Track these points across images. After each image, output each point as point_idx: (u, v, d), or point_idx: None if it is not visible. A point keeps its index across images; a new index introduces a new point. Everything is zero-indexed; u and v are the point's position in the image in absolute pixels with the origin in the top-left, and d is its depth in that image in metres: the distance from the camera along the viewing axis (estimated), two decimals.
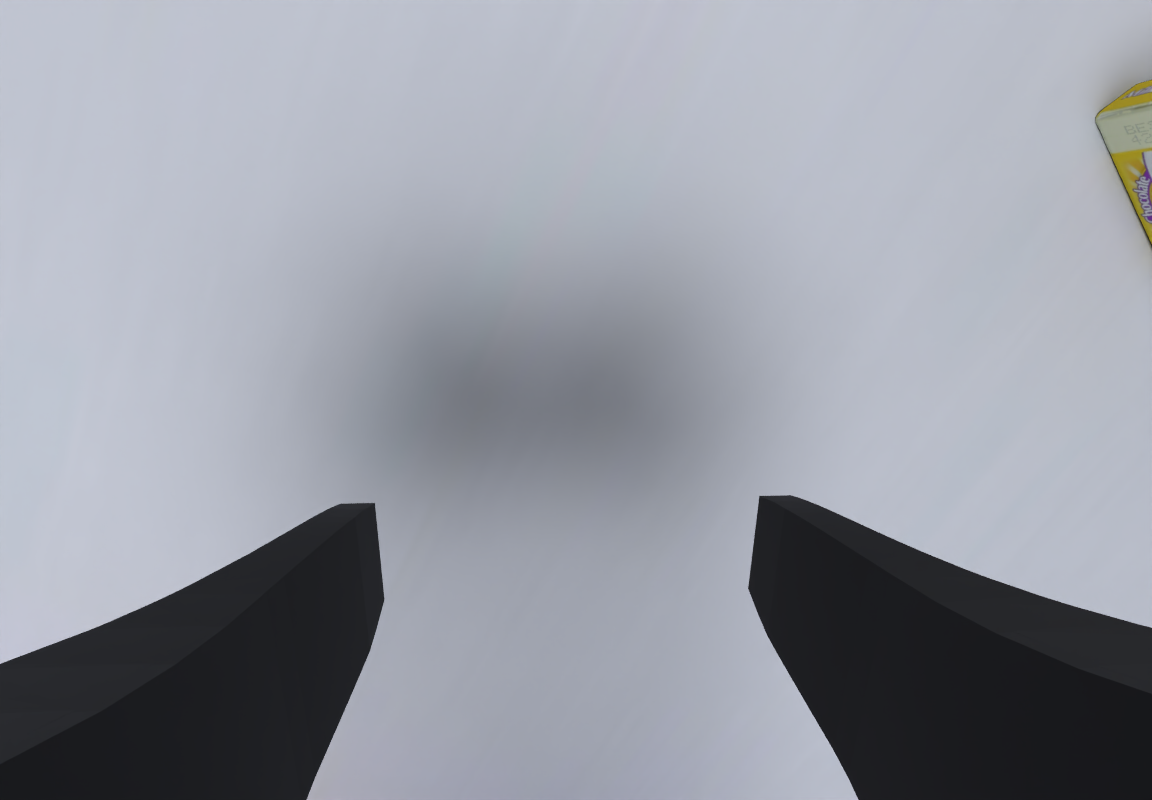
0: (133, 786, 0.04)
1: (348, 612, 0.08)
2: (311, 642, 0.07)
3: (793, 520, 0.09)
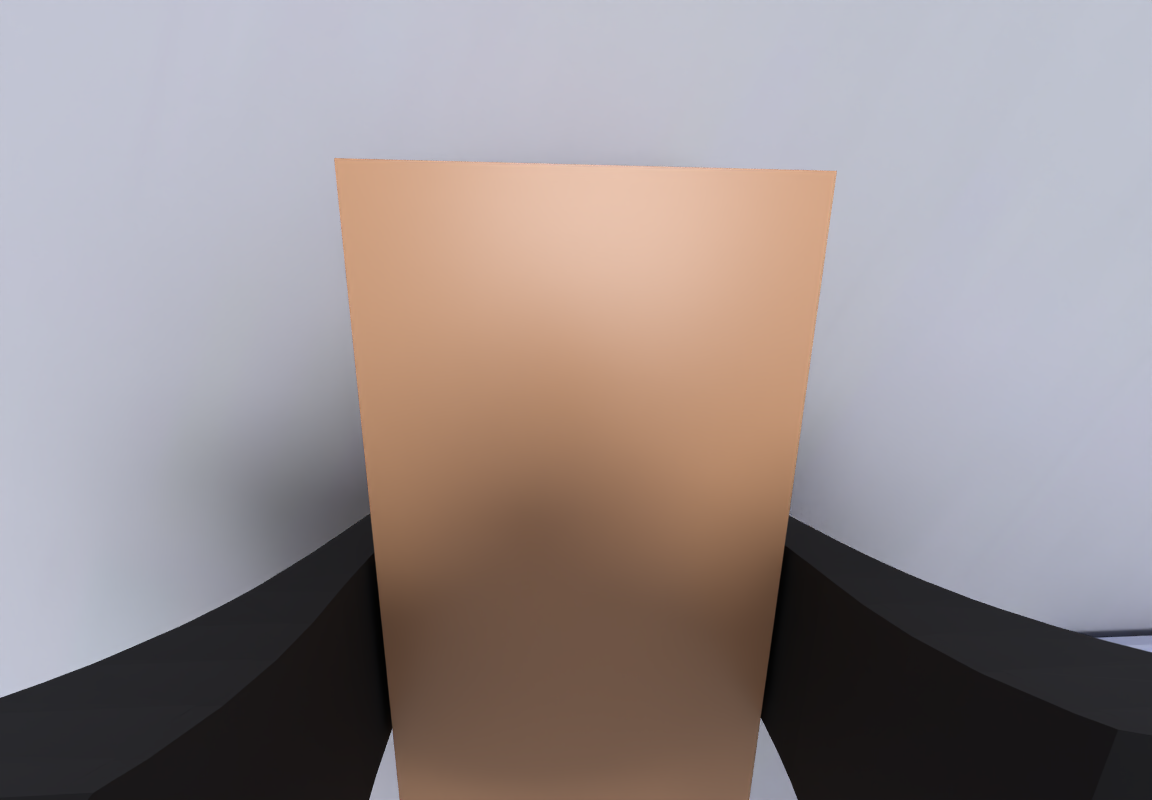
0: (245, 780, 0.04)
1: None
2: (374, 640, 0.07)
3: None
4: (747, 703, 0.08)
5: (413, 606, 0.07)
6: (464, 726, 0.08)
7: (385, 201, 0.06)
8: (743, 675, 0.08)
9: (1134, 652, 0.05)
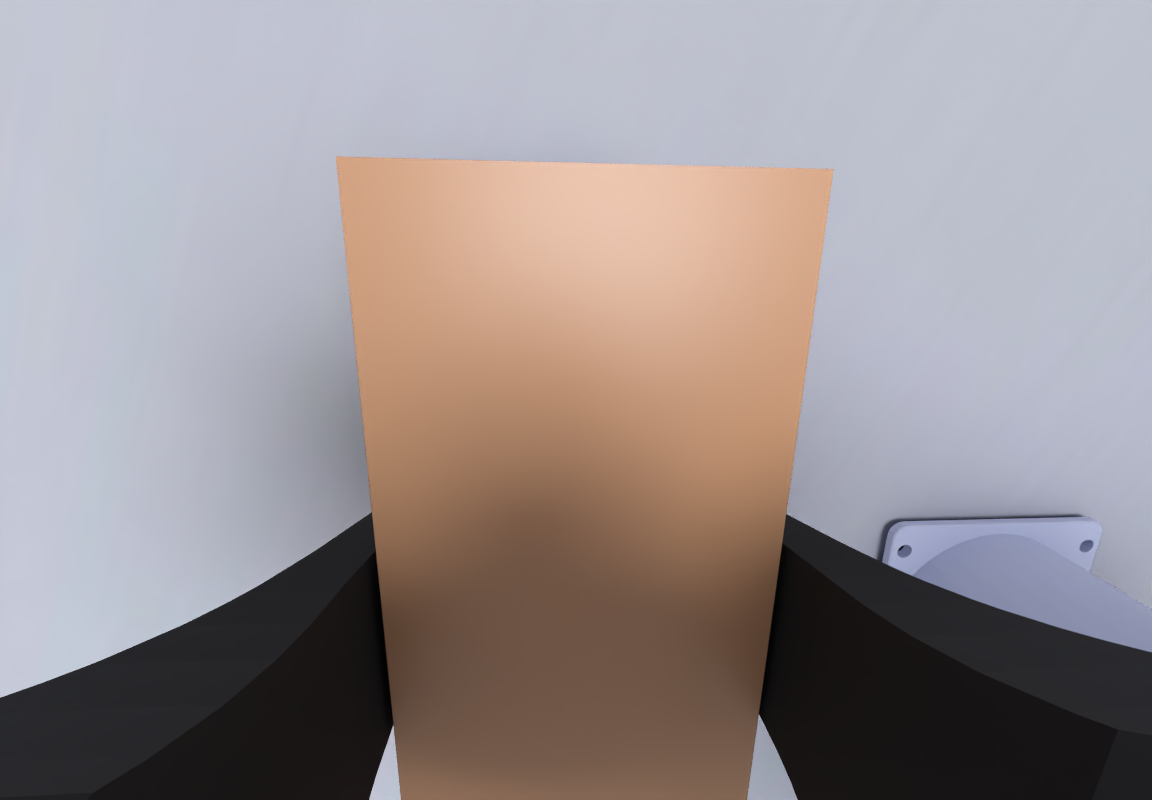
0: (245, 780, 0.04)
1: None
2: (374, 640, 0.07)
3: None
4: (745, 698, 0.08)
5: (414, 601, 0.07)
6: (465, 721, 0.08)
7: (386, 199, 0.06)
8: (741, 670, 0.08)
9: (1134, 652, 0.05)
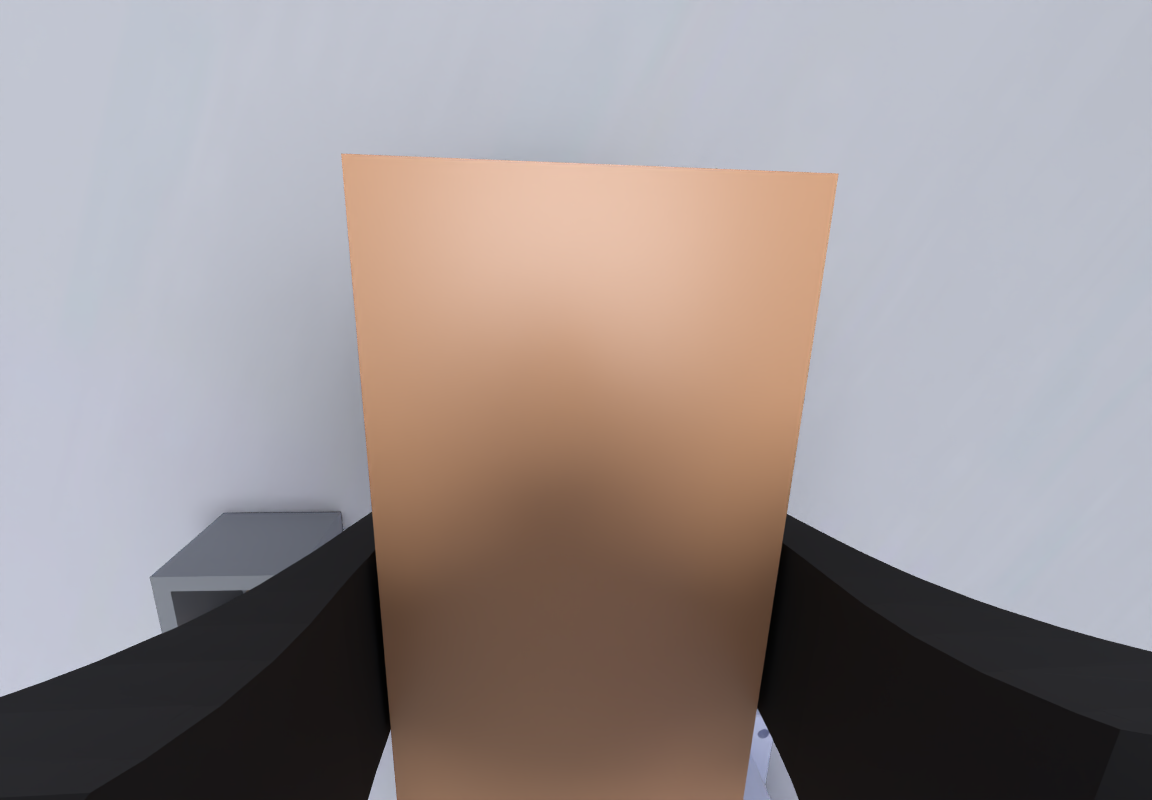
0: (243, 780, 0.04)
1: None
2: (373, 640, 0.07)
3: None
4: (743, 700, 0.08)
5: (413, 601, 0.07)
6: (462, 721, 0.08)
7: (391, 197, 0.06)
8: (739, 672, 0.08)
9: (1136, 652, 0.05)
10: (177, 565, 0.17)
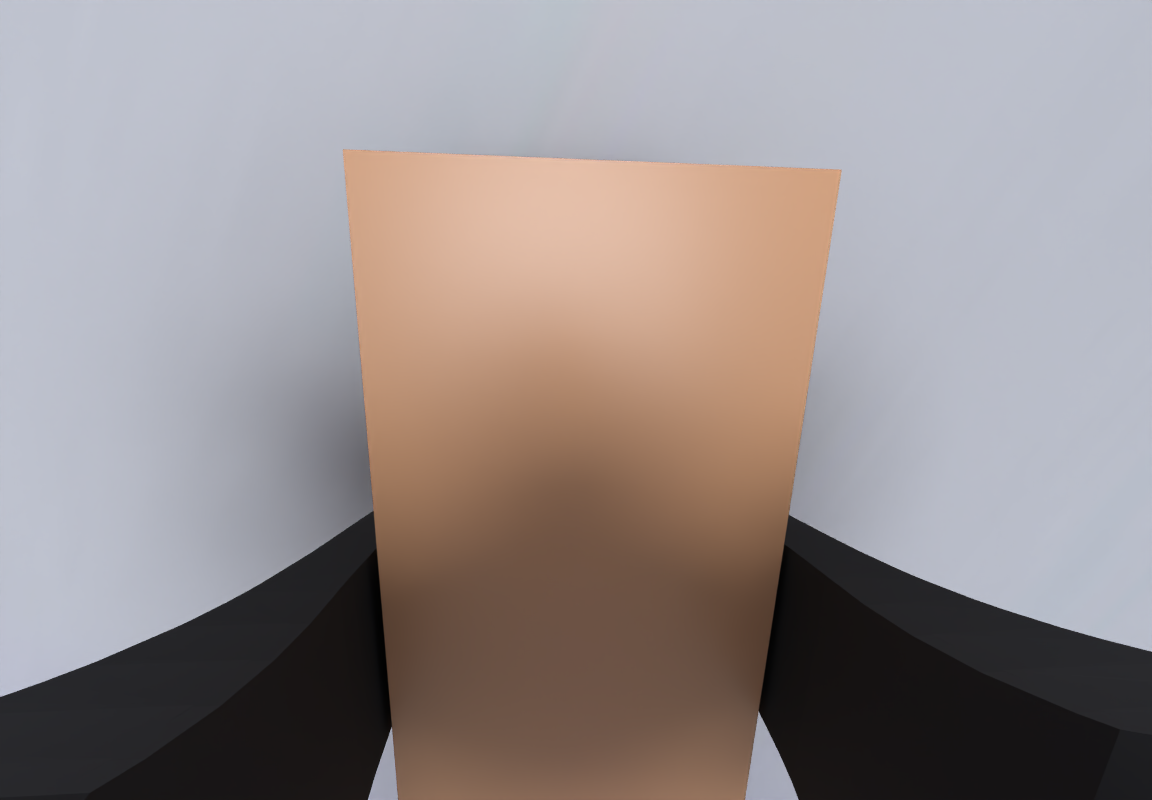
0: (243, 780, 0.04)
1: None
2: (373, 640, 0.07)
3: None
4: (745, 699, 0.08)
5: (414, 598, 0.07)
6: (464, 719, 0.08)
7: (393, 193, 0.06)
8: (741, 671, 0.08)
9: (1136, 652, 0.05)
10: None
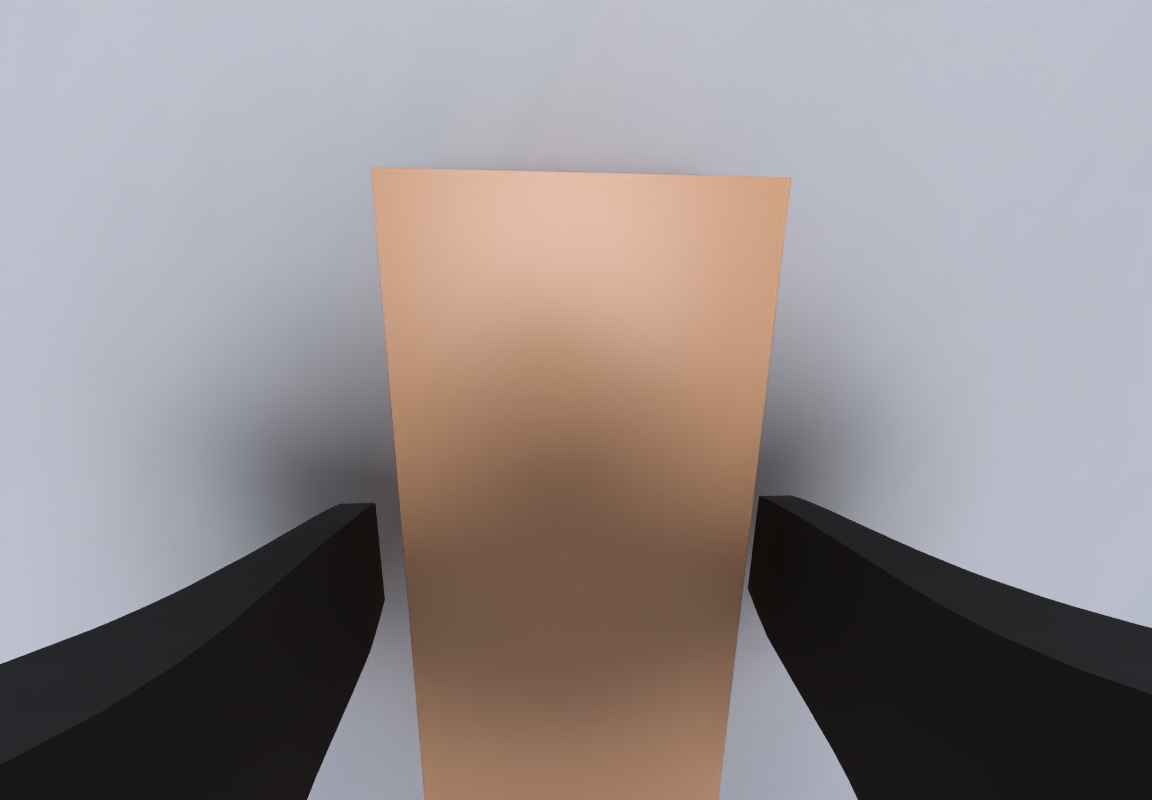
0: (134, 786, 0.04)
1: (348, 612, 0.08)
2: (312, 642, 0.07)
3: (793, 520, 0.09)
4: (723, 642, 0.09)
5: (432, 552, 0.08)
6: (476, 661, 0.09)
7: (412, 203, 0.07)
8: (719, 617, 0.09)
9: None
10: None
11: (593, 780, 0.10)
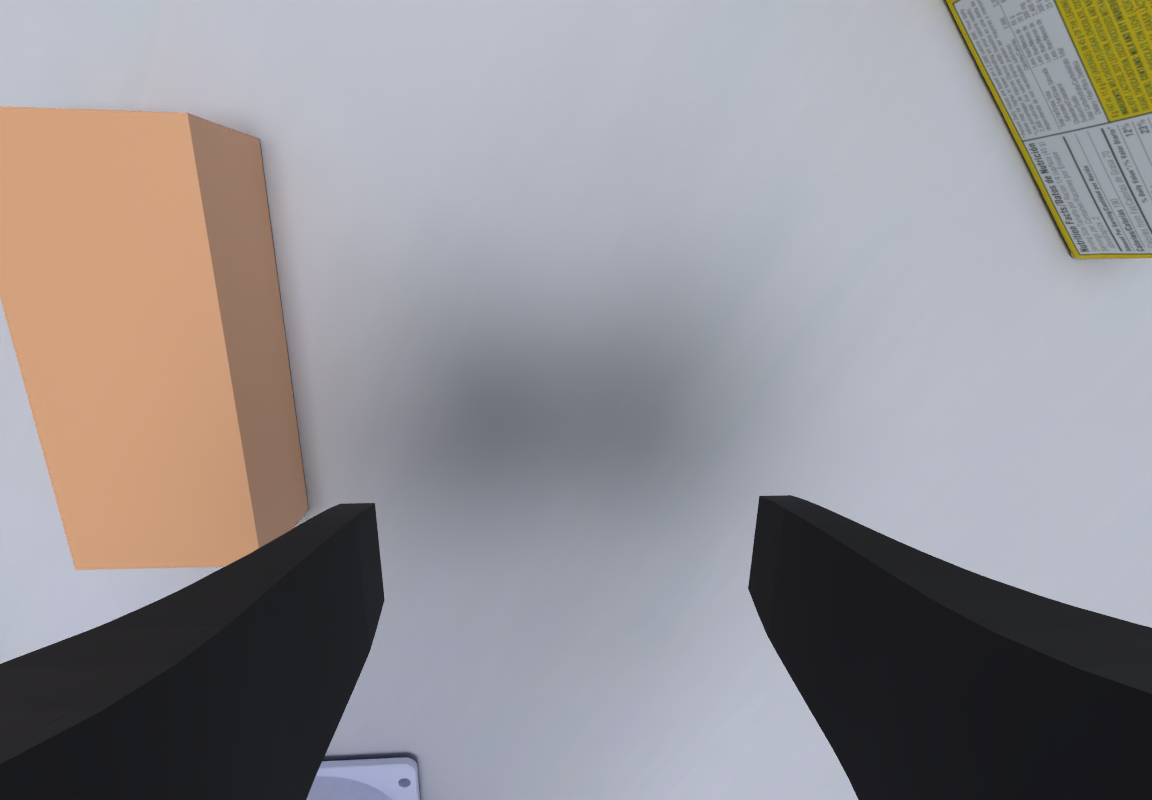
0: (133, 786, 0.04)
1: (348, 612, 0.08)
2: (311, 642, 0.07)
3: (793, 520, 0.09)
4: (226, 401, 0.15)
5: (28, 334, 0.14)
6: (70, 409, 0.15)
7: None
8: (218, 384, 0.15)
9: None
10: None
11: (166, 498, 0.16)
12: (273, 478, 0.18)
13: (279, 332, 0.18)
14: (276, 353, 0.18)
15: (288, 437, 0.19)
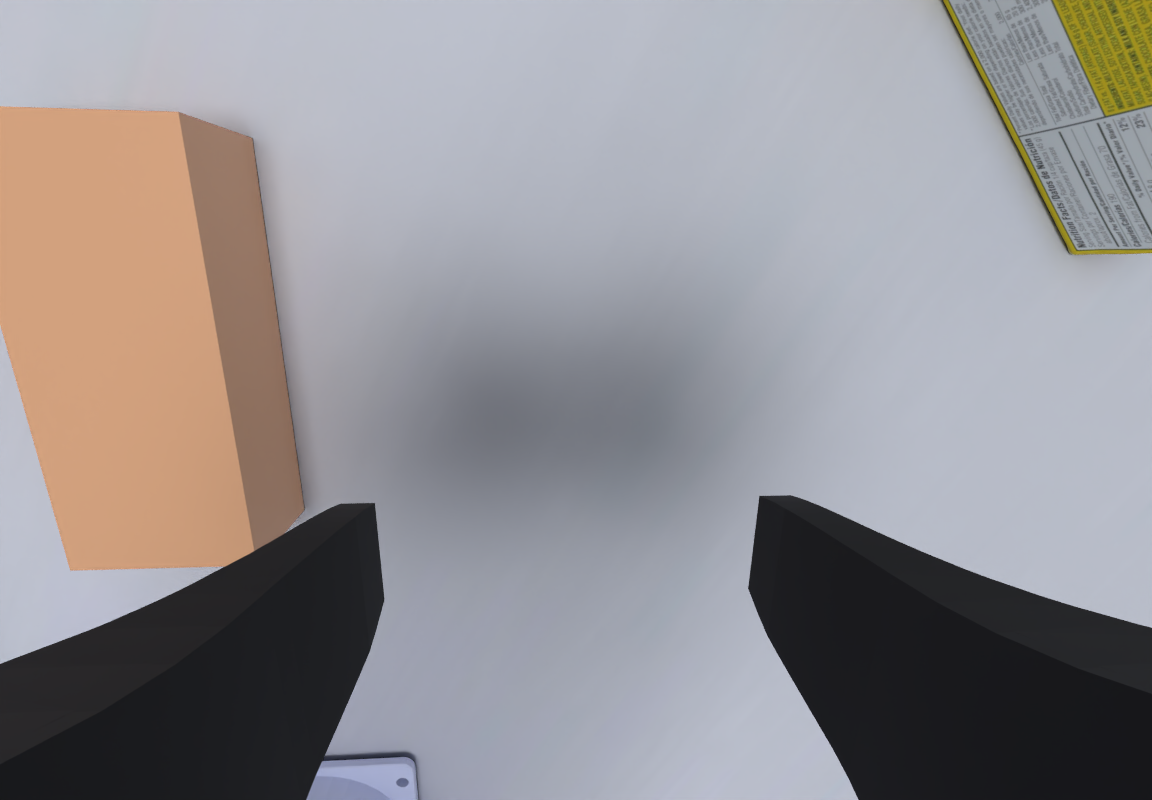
0: (133, 787, 0.04)
1: (348, 612, 0.08)
2: (311, 642, 0.07)
3: (793, 520, 0.09)
4: (219, 401, 0.15)
5: (20, 335, 0.14)
6: (64, 409, 0.15)
7: None
8: (212, 383, 0.15)
9: None
10: None
11: (160, 497, 0.16)
12: (268, 478, 0.17)
13: (273, 331, 0.18)
14: (270, 352, 0.18)
15: (283, 437, 0.19)
